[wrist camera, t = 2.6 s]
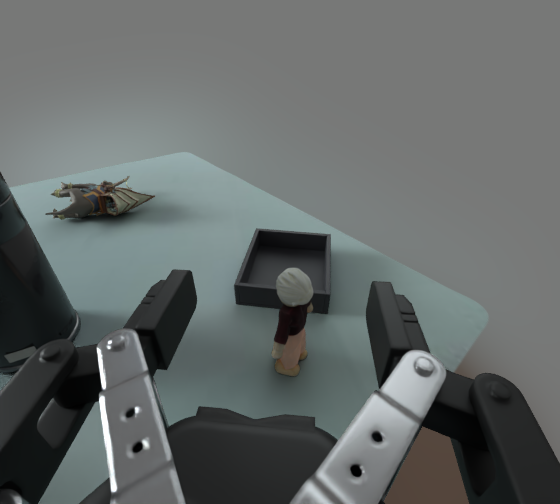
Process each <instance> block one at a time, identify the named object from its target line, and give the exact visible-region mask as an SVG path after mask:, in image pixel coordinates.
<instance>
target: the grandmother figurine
mask: <svg viewBox="0 0 560 504" xmlns="http://www.w3.org/2000/svg"><path fill="white" fill-rule="evenodd" d="M276 288H277V294H278V296H279V298H280V300H281V302H282V303H284V304H283V306H282V308H281V309H280V312H279V323H278V328H277V332H276V334H275V338H274V347H273V350H272V353H271V354H272V357H273V358H275V359H278V360H277V361H276V363H275V370H276V371H277V372H278V373H280V374H284V375H288V376H296V375H297V374H298V373H299V371H300V366H299V365H298V364H297V363H298V361H299V360H303V359H305V358H306V356H307V351H306V349H305V345H306V341H305V336H306V334H305V329H304V326H305V323H306V317H307V312H308V313H310V312H312V311H313V306H312V304H311V300H310V299H311V298H312V296H313V288H312V285H311V281H310V278H309V277H308V276H307V275H306V274H305V273H304V272H302V271H301V270H300V269H298V268H288V269H286V270H285V271H284V272H283V273H281V274H280V275H279V276H278V279H277V281H276Z"/></svg>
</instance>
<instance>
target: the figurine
mask: <svg viewBox="0 0 560 504" xmlns="http://www.w3.org/2000/svg"><path fill="white" fill-rule="evenodd" d="M128 178H129V176H128V177H127V178H126V179H123V180H122V181H120V182H117V183H115V184H112V183H111V182H107V181H103V182H102V183H101V184H102V185H96V184H75V185H73V184H71V183H70V184H64V183H62V182H61V183H62V185H61V186H62V187H61V188H62V189H56V190H55V191H54V192H53V193H52V194H51V195H54V196H56V197H58V198H59V197H60V198H62V197H71V200H70V201H72V204H71V205H70V206H68V207H67V208H65V209H63V210H61V211H59V212H57V210H55V208H54V210H53V212H52V213H46V214H45V215H53V216H54V217H53V218H59V219H63V220H64V219H65V218H83V217H86V216H88V215H92V214H98V215H100V214H103V213H109V214H111V215H114V216H116V215H117V214H120V213H125V212H127V211H129V210H130V209H132V208H135V207H136V206H138V205H140V204H142V203H144V202H146V201H148V200H150V199H152V198H153V197H155V195H154V196H151V195H145V194H140V193H137V192H134V191H132V190H130V189H132V188H115V186H118V185H120V184H122V183H123V182H126V180H128ZM126 185H127V183H126ZM127 187H128V186H127ZM65 189H66V190H65ZM100 210H101V211H100ZM98 212H101V213H98ZM98 215H96V216H98Z"/></svg>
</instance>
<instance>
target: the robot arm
mask: <svg viewBox="0 0 560 504" xmlns="http://www.w3.org/2000/svg"><path fill="white" fill-rule="evenodd" d="M196 304H197V295H196V290H195V285H194V280H193V275H192V272H191V271H190V270H172V271H171V273H170V274H169V276H168V278H167V279H166V280H160V281H159V282H158V283H156V284H155V285H154V286H152V287H151V288H150V290H149V291H148V293H147V294H146V297H144V298H143V300H142V301H141V304H139V306H138V307H137V309H136V310H135V311H134V313H133V314H132V316H131V317H130V319H129V320H128V321H127V323H126V324H125V326H124V327H123V329H119V330H115V331H113V332H111V333H109V334H108V335H106V336H105V337H104V338H103V339H102V340H101V341H100V342H99V344H94V345H89V346H83V347H78V348H76V347H75V346H74V344H73V342H72V340H73V339H74V338H75V336H76V335H77V333H78V331H79V328H80V318H79V316H78V314H77V312H76V311H75V310H74V309H73V307H72V305H71V303H70V301H69V299H68V297H67V295H66V293H65V291H64V290H63V288H62V286H61V284H60V282H59V280H58V278H57V276H56V275H55V273H54V271H53V269H52V267H51V265H50V263H49V262H48V260H47V258H46V256H45V254H44V252H43V250H42V248H41V247H40V245H39V243H38V241H37V239H36V237H35V235H34V234H33V232H32V230H31V228H30V226H29V224H28V222H27V220H26V219H25V217H24V215H23V213H22V211H21V210H20V208H19V206H18V204H17V202H16V200H15V198H14V196H13V195H12V193H11V191H10V189H9V187H8V185H7V184H6V182H5V180H4V178H3V176H2V174H1V172H0V372H2V373H10V372H17V373H16V374H15V375H14V376H13V377H12V378H11V380H10V381H9V382H8V383H7V384H6V385H5V386H4V388H3V389H2V390H1V391H0V504H38V503H39V501H40V499H41V497H42V495H43V494H44V492H45V490H46V488H47V487H48V485H49V483H50V481H51V480H52V478H53V476H54V474H55V472H56V471H57V469H58V467H59V465H60V464H61V462H62V460H63V458H64V457H65V455H66V453H67V451H68V449H69V448H70V446H71V444H72V442H73V441H74V439H75V437H76V435H77V433H78V432H79V430H80V428H81V426H82V425H83V423H84V421H85V419H86V418H87V416H88V414H89V412H90V410H91V409H92V407H93V405H94V403H95V402H97V401H100V408H101V415H102V423H103V431H104V438H105V446H106V453H107V461H108V469H109V476H110V477H109V478H108V479H107V480H106V481H105V482H103V483H102V484H101V485H100V486H99V487H98V488H96V489H95V490H94V491H93V492H92V493H91V494H89V495H88V496H87V497H86V498H85V499H84V500H83V501H81V502H80V503H79V504H385V503H384V502H383V501H384V499H385V497H386V496H387V494H388V492H389V490H390V488H391V485H392V484H393V482H394V480H395V478H396V476H397V474H398V472H399V470H400V468H401V466H402V464H403V462H404V460H405V458H406V457H407V455H408V453H409V451H410V449H411V447H412V445H413V443H414V441H415V439H416V437H417V436H418V434H419V432H420V430H421V428H422V426H423V427H426V428H428V429H431V430H433V431H436V432H438V433H441V434H443V435H445V436H448V437H450V438H451V442H452V445H453V449H454V452H455V456H456V459H457V463H458V466H459V469H460V473H461V476H462V480H463V483H464V487H465V490H466V493H467V497H468V500H469V504H560V463H559V462H558V460H557V458H556V456H555V454H554V452H553V450H552V448H551V447H550V445H549V443H548V441H547V439H546V437H545V435H544V433H543V432H542V430H541V428H540V426H539V424H538V422H537V421H536V419H535V417H534V415H533V413H532V411H531V409H530V407H529V406H528V404H527V402H526V400H525V398H524V396H523V395H522V393H521V392H520V390H519V389H518V388H517V387H516V386H515V385H514V384H513V383H511V382H510V381H508V380H507V379H505V378H503V377H501V376H499V375H496V374H491V373H483V374H479V375H478V376H477V377H476V378H475V380H473V379H470V378H467V377H464V376H461V375H459V374H456V373H453V372H451V371H449V370H447V369H445V367H444V365H443V364H442V362H441V361H440V360H439V359H438V358H436V357H435V356H434V355H432V354H431V353H430V351H429V348H428V345H427V343H426V340H425V338H424V335H423V332H422V330H421V327H420V324H419V323H418V319H417V317H416V315H415V311H414V309H413V306H412V304H411V303H410V302H409V300H408V299H407V298H406V297H405V296H404V295H396V294H395V292H394V289H393V286H392V284H391V282H377V281H373V282H372V284H371V288H370V293H369V298H368V303H367V308H366V322H367V328H368V333H369V338H370V343H371V349H372V354H373V359H374V365H375V370H376V375H377V381H378V386H379V389H380V390H379V391H377V390H375V391H374V392H373V393H372V395H371V396H370V397H369V399H368V400H367V401H366V403H365V404H364V406H363V407H362V408H361V410H360V411H359V413H358V414H357V415H356V417H355V418H354V420H353V421H352V422H351V424H350V425H349V426H348V428H347V429H346V431H345V432H344V433H343V435H342V436H341V438H340V439H339V440H337V439H336V438H335V437H333V436H332V435H330V434H329V433H328V432H326V431H324V430H322V429H320V428H317V427H315V417H308V416H297V415H286V414H285V415H279V416H273V417H267V418H261V419H252V418H249V417H246V416H244V415H241V414H239V413H236V412H233V411H231V410H228V409H222V408H212V407H201V406H199V408H198V411H197V414H196V416H192V417H189V418H185V419H183V420H180V421H178V422H176V423H174V424H173V425H171V426H170V427H169V425H168V422H167V419H166V416H165V413H164V409H163V406H162V403H161V400H160V396H159V393H158V390H157V387H156V383H155V380H154V377H153V376H154V374H155V372H156V370H157V369H161V370H167V369H168V367H169V365H170V362H171V360H172V358H173V356H174V354H175V352H176V350H177V347H178V345H179V343H180V341H181V339H182V337H183V335H184V332H185V330H186V328H187V326H188V324H189V322H190V319H191V317H192V315H193V313H194V311H195V308H196ZM52 398H53V399H52ZM50 401H51V402H50ZM48 404H49V405H48ZM47 405H48V406H47ZM46 407H47V408H46ZM45 408H46V409H45ZM43 411H44V412H43ZM41 414H42V415H41Z"/></svg>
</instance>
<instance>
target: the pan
mask: <svg viewBox="0 0 560 504" xmlns="http://www.w3.org/2000/svg"><path fill="white" fill-rule="evenodd" d="M330 256H331V235H330V234H319V233H306V232H294V231H281V230H269V229H256V230H255V233H254V236H253V238H252V241H251V243H250V246H249V248H248V251H247V253H246V256H245V259H244V261H243V264H242V266H241V269H240V271H239V274H238V276H237V279H236V282H235V284H234V289H235V298H236V304H241V305H250V306H260V307H269V308H278V309H281V308H282V306H283V304H284V303H282V302H281V300H280V298H279V296H278V294H277V288H276V281H277V279H278V276H279V275H280V274H281V273H283V272H284V271H285V270H286V269H288V268H298V269H300V270H301V271H302V272H304V273H305V274H306V275H307V276H308V277H309V278H310V281H311V285H312V288H313V296H312V298H311V299H310V300H311V304H312V306H313V311H312V312H316V313H325V314H328V307H329V300H330Z"/></svg>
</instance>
